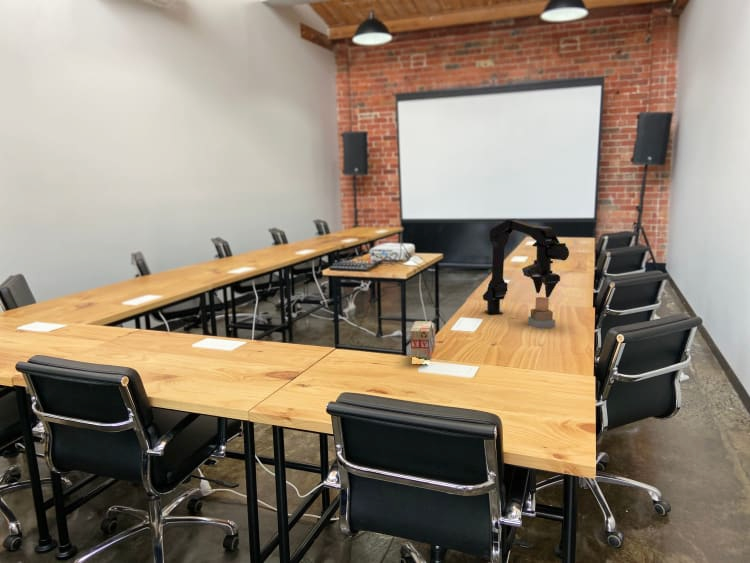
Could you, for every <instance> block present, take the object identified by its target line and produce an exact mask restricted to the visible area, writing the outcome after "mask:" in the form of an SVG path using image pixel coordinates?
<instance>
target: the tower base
mask: <svg viewBox="0 0 750 563" xmlns="http://www.w3.org/2000/svg"><path fill="white" fill-rule="evenodd" d="M527 323H528V325H529V324H530V325H529V326H531V327H532V326H533V328H534V327H535V328H534V329H535V330H538V329H537V328H540V329H552V328H554V327H555V328H556V320H555V319H552V320H544V321H537V320H535V319H533V318H531V316H528V319H527ZM540 329H539V330H540Z"/></svg>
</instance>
